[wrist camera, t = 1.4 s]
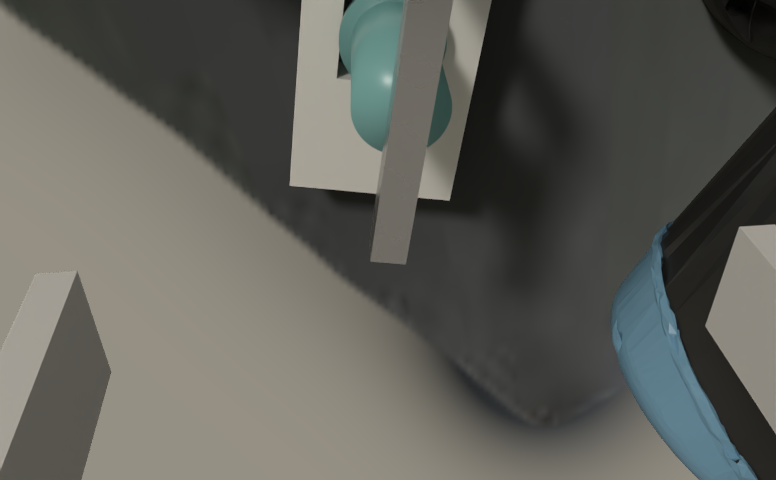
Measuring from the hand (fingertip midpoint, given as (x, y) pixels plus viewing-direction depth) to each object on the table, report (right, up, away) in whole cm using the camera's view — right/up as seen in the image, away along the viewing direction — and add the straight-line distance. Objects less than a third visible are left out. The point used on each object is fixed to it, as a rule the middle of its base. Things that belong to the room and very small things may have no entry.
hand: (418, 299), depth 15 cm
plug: (0, +13, +23) cm, 26 cm away
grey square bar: (0, +7, +11) cm, 13 cm away
